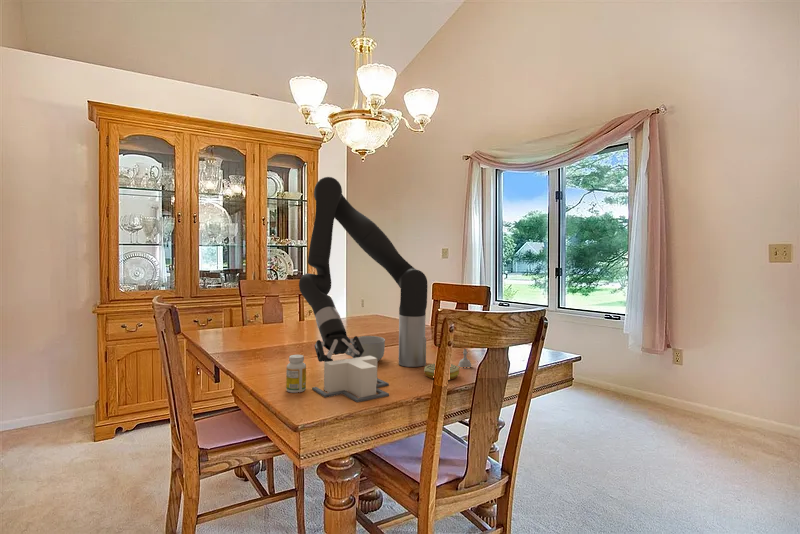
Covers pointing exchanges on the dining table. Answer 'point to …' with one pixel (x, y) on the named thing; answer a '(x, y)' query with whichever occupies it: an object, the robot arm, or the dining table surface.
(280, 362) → the dining table surface
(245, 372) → the dining table surface
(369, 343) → the teacup
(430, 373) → the decorated donut
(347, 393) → the t outline
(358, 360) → the t block
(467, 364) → the grey tall turned piece
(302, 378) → the supplement bottle
